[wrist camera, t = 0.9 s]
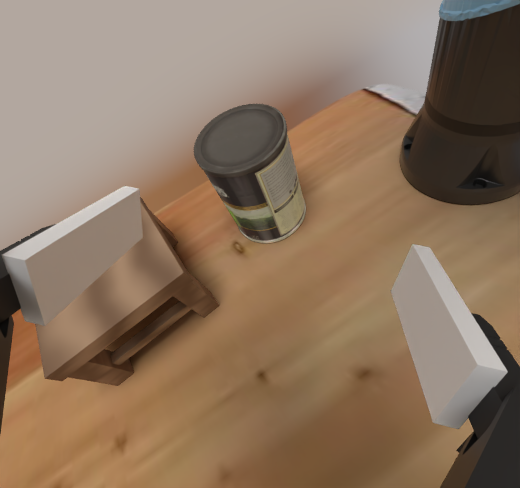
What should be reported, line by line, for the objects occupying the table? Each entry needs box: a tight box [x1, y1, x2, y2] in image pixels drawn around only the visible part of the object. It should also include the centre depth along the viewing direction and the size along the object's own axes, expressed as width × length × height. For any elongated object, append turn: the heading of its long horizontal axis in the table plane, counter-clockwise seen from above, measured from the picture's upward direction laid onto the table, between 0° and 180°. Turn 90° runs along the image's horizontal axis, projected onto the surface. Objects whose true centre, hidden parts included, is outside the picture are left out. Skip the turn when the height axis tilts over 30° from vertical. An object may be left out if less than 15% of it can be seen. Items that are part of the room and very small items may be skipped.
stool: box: [35, 197, 219, 386], centre depth 38 cm, size 16×16×10 cm
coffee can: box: [194, 104, 306, 243], centre depth 38 cm, size 10×10×14 cm
